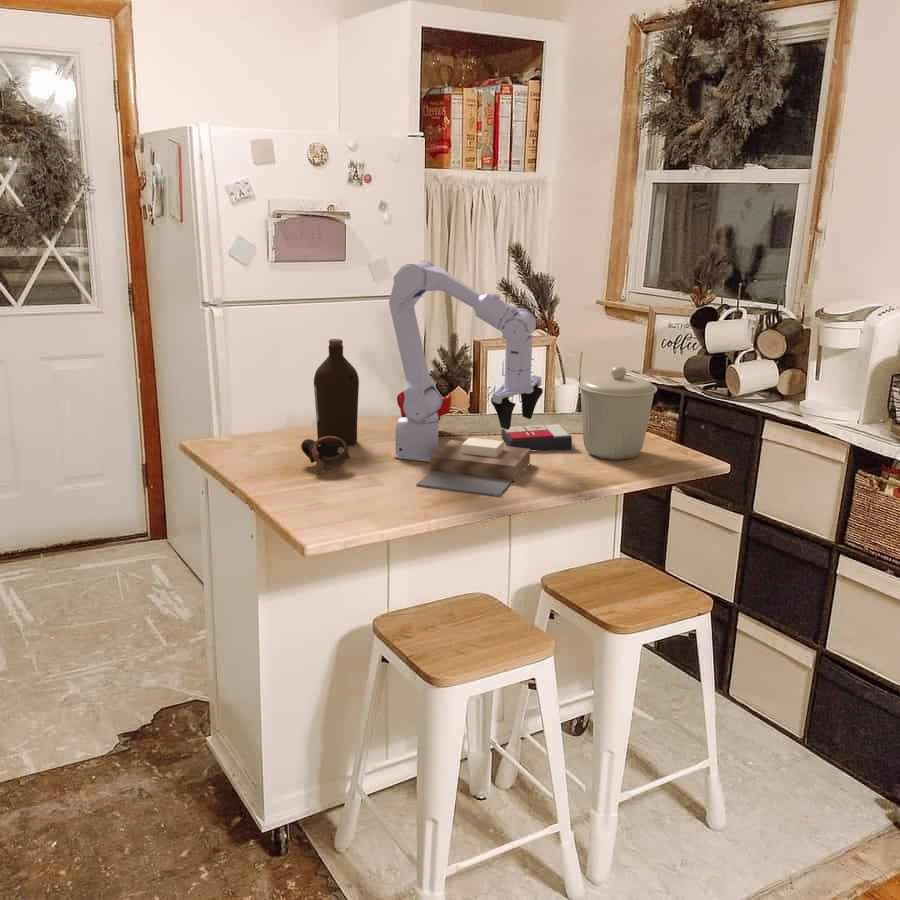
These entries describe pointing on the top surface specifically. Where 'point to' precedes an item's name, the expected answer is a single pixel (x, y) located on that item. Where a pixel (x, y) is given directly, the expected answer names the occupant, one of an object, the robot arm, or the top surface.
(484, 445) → the tile
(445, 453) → the block
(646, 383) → the canister
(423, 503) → the top surface
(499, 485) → the mat
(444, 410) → the ceramic cup
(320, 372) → the olive oil
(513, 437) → the calculator
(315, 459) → the pottery mug
